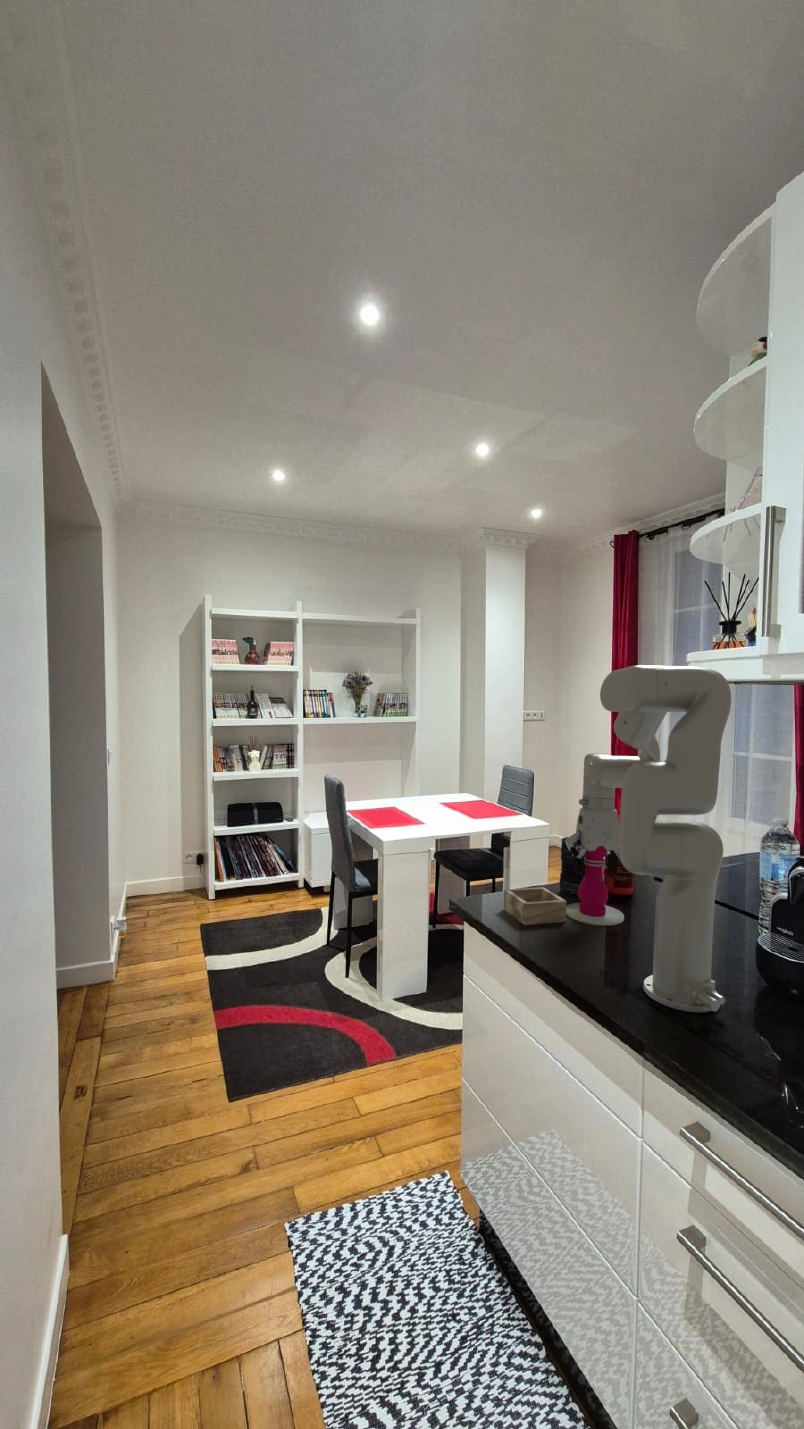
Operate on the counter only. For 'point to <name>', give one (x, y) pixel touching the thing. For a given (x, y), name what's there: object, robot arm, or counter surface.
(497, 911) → the counter surface
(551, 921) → the box
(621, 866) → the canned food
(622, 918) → the coaster
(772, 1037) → the counter surface
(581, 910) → the pepper mill
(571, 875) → the storage jar
